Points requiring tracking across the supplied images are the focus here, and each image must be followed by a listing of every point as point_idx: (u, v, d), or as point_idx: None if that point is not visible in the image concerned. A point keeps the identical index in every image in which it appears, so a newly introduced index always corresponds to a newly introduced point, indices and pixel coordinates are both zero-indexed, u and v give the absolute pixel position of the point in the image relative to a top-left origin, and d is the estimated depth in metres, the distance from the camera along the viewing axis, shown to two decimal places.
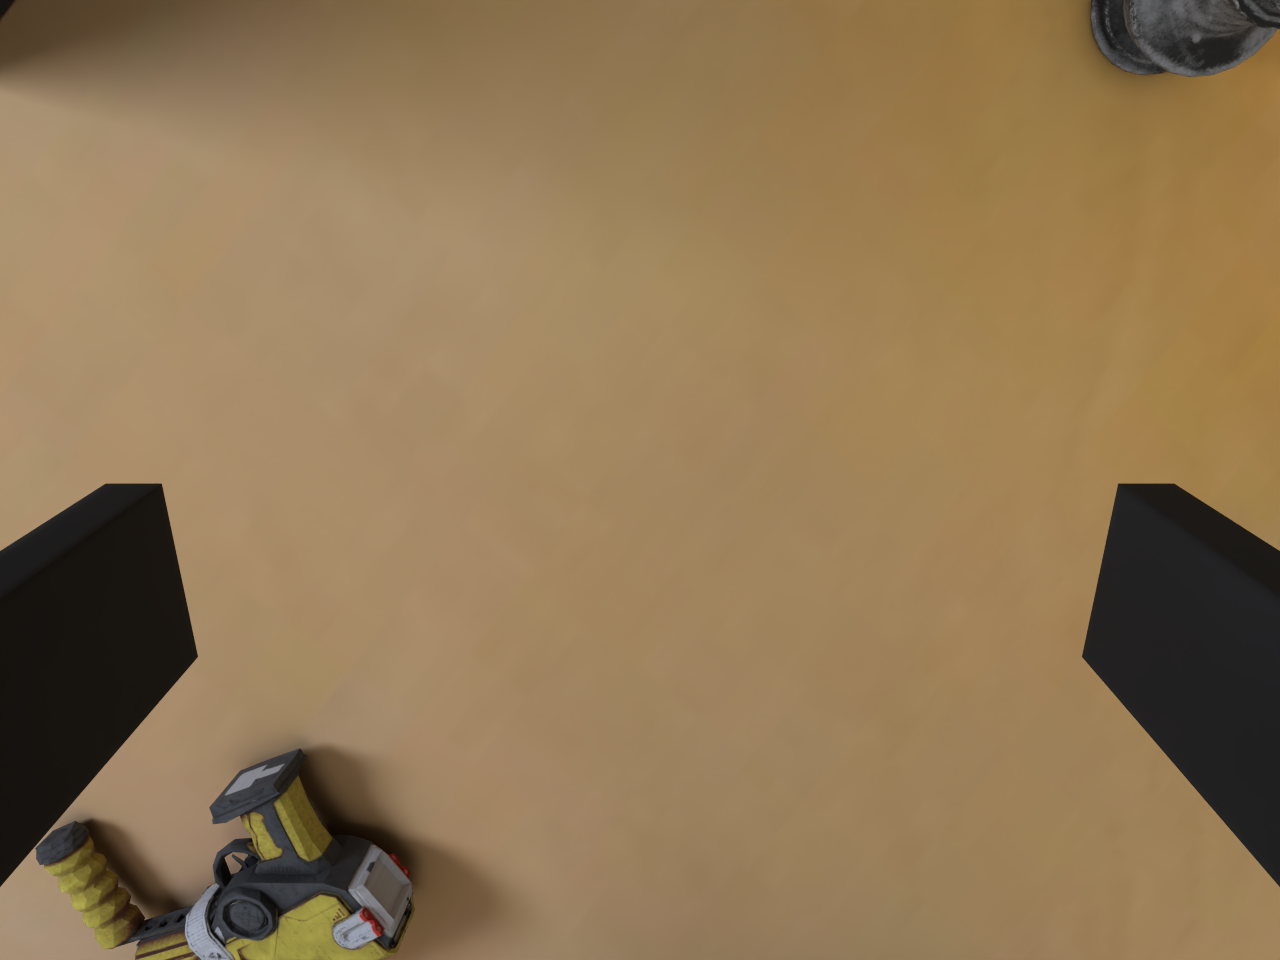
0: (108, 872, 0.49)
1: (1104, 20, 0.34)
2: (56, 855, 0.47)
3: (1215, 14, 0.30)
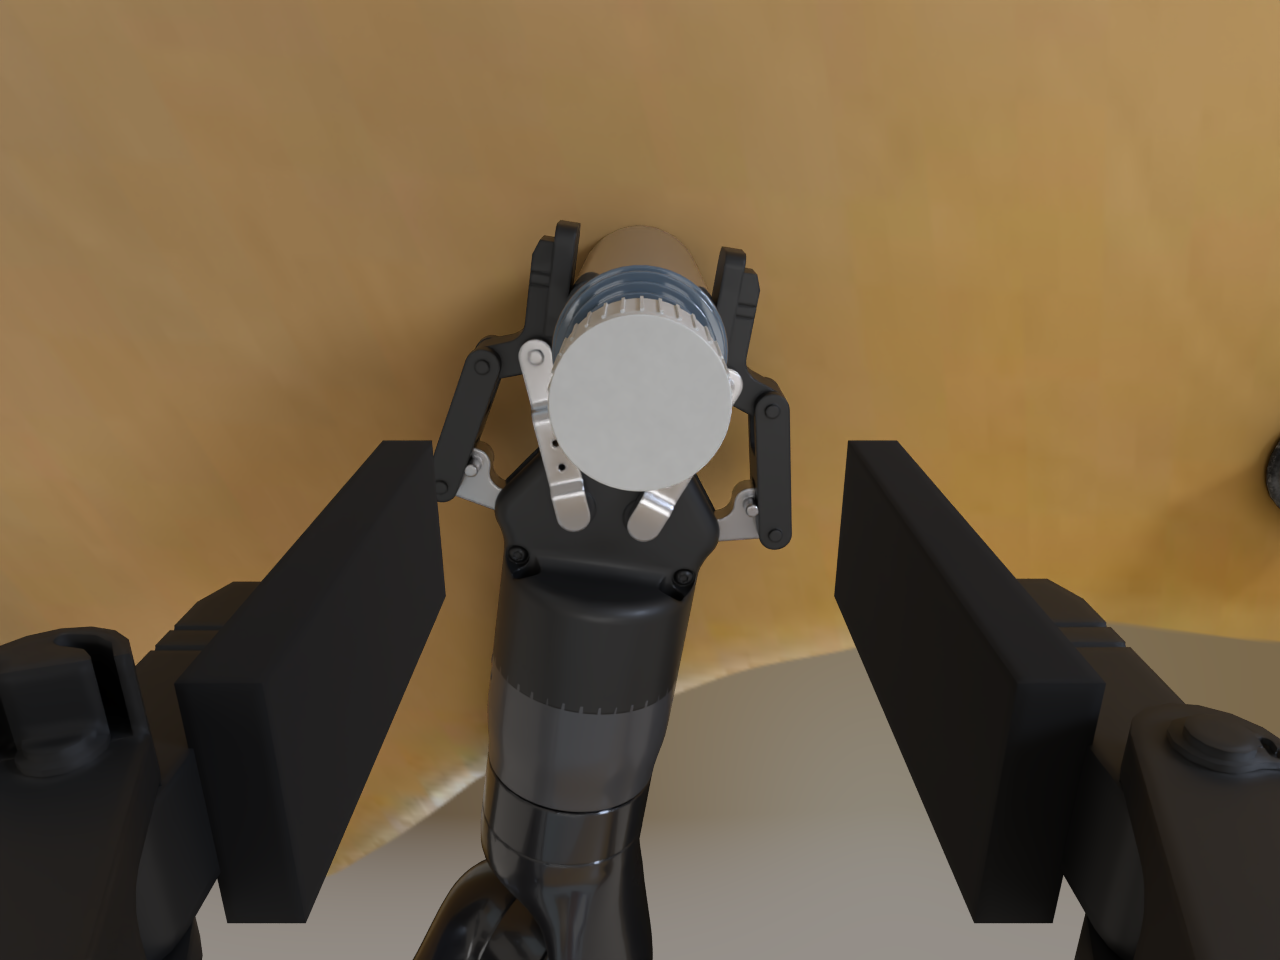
0: None
1: None
2: None
3: None
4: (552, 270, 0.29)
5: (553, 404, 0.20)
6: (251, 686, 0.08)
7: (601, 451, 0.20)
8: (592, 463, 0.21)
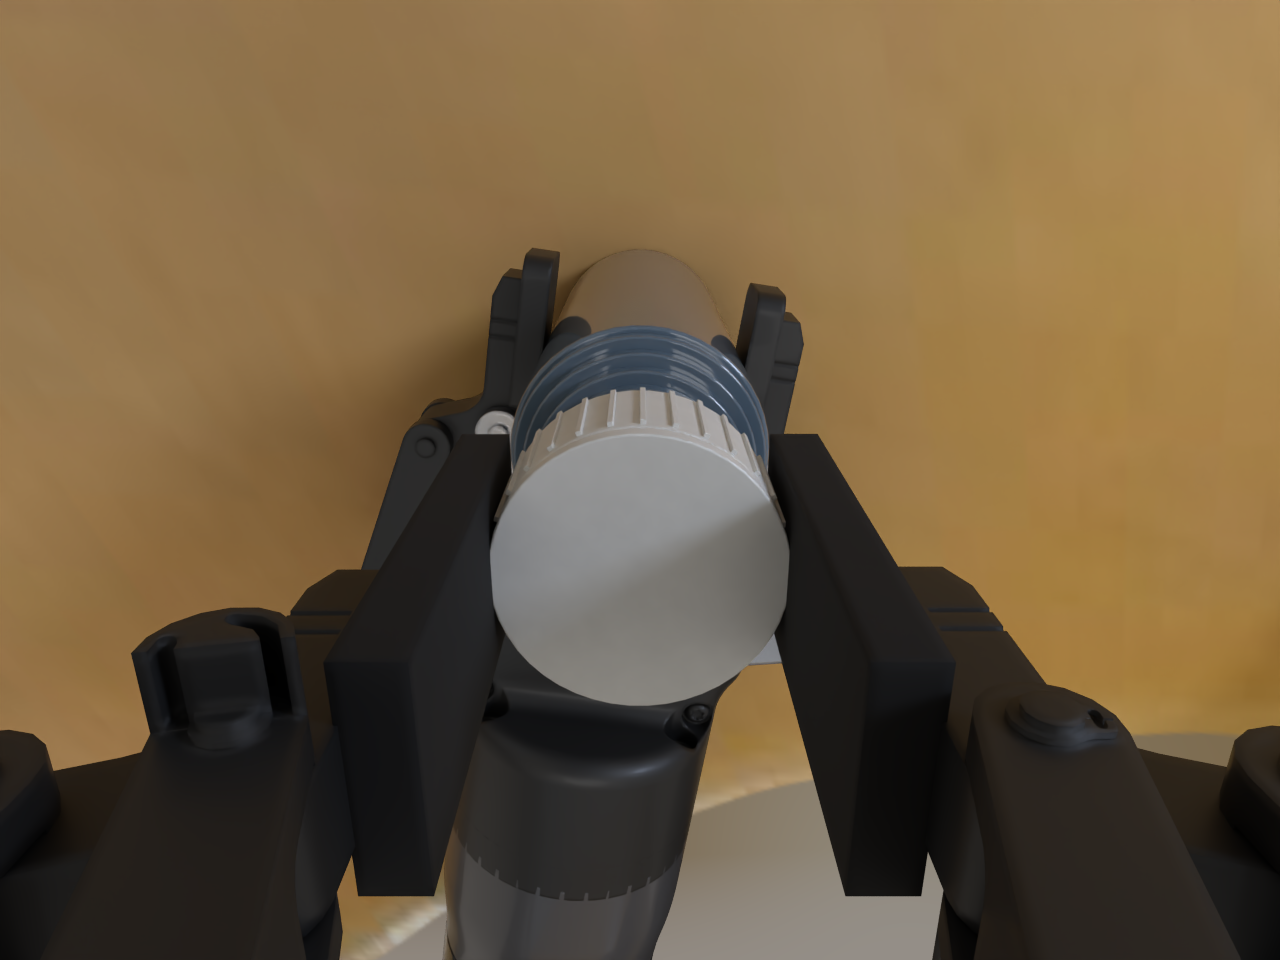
0: None
1: None
2: None
3: None
4: (519, 318, 0.21)
5: (496, 575, 0.12)
6: (396, 666, 0.08)
7: (576, 646, 0.13)
8: (562, 664, 0.13)
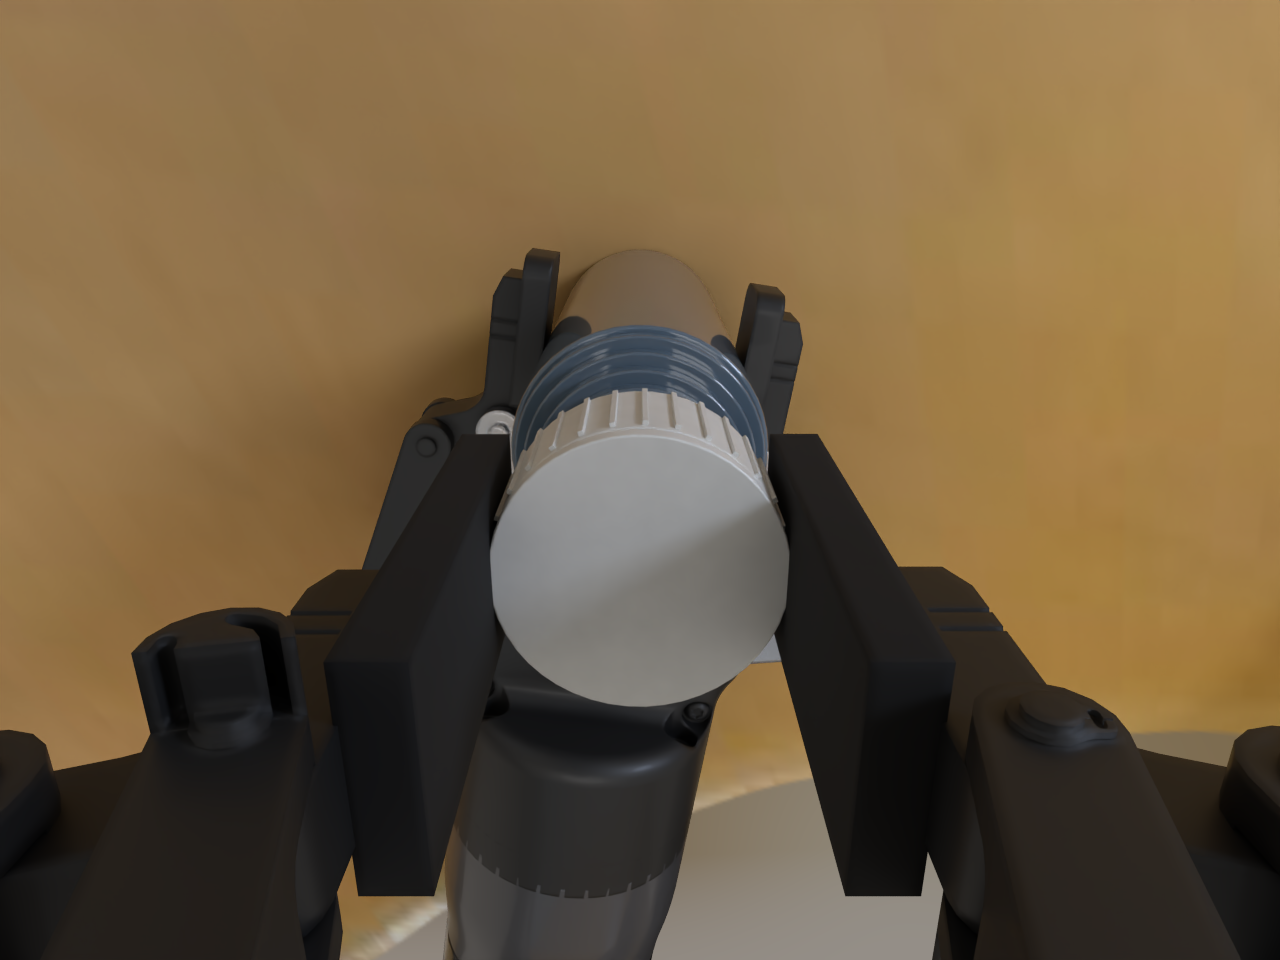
0: None
1: None
2: None
3: None
4: (520, 318, 0.21)
5: (702, 687, 0.13)
6: (396, 665, 0.08)
7: (739, 596, 0.12)
8: (765, 598, 0.12)
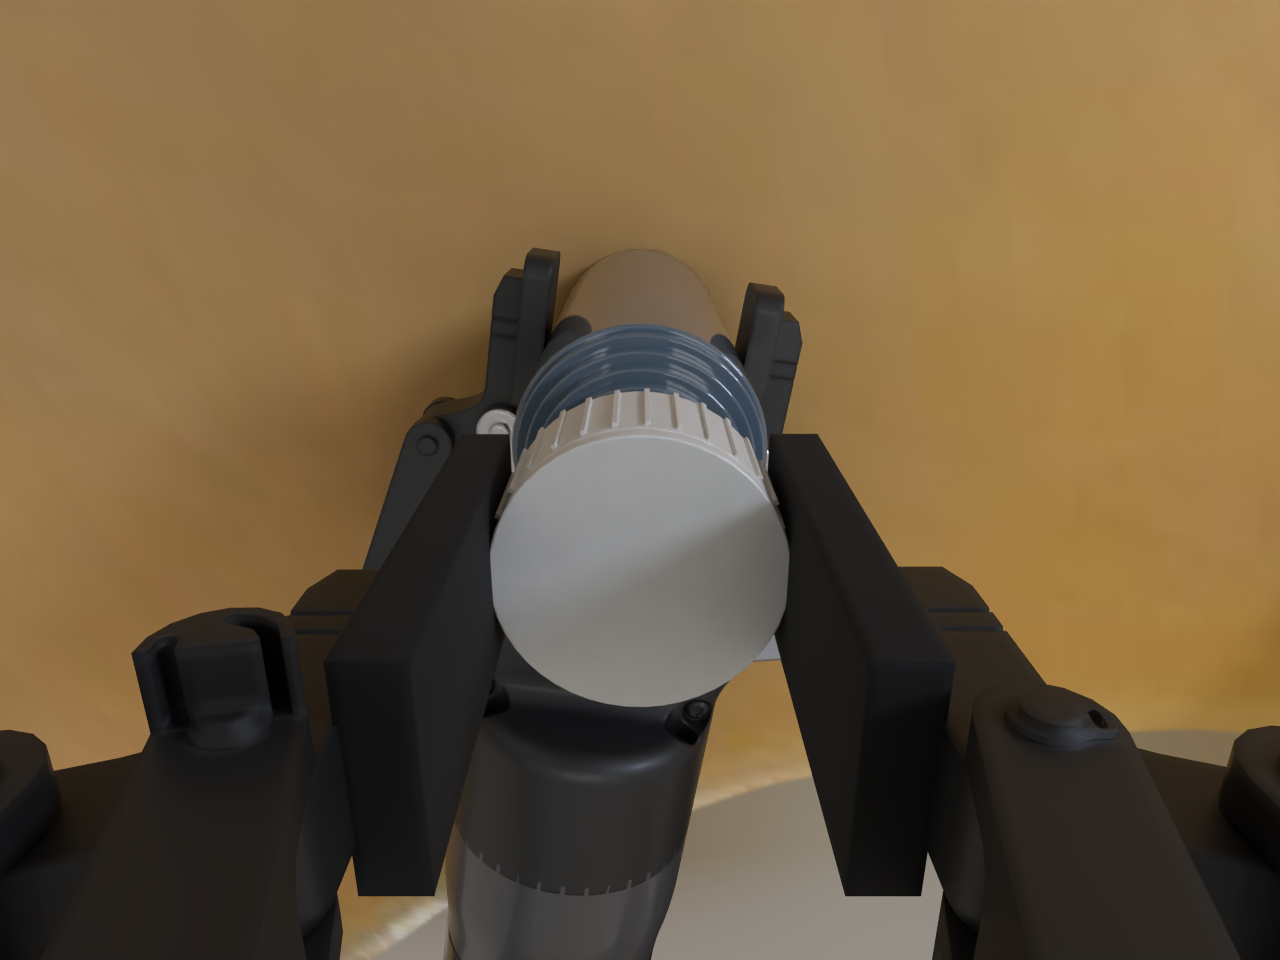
0: None
1: None
2: None
3: None
4: (520, 317, 0.21)
5: (722, 468, 0.12)
6: (396, 665, 0.08)
7: (605, 490, 0.12)
8: (594, 466, 0.12)
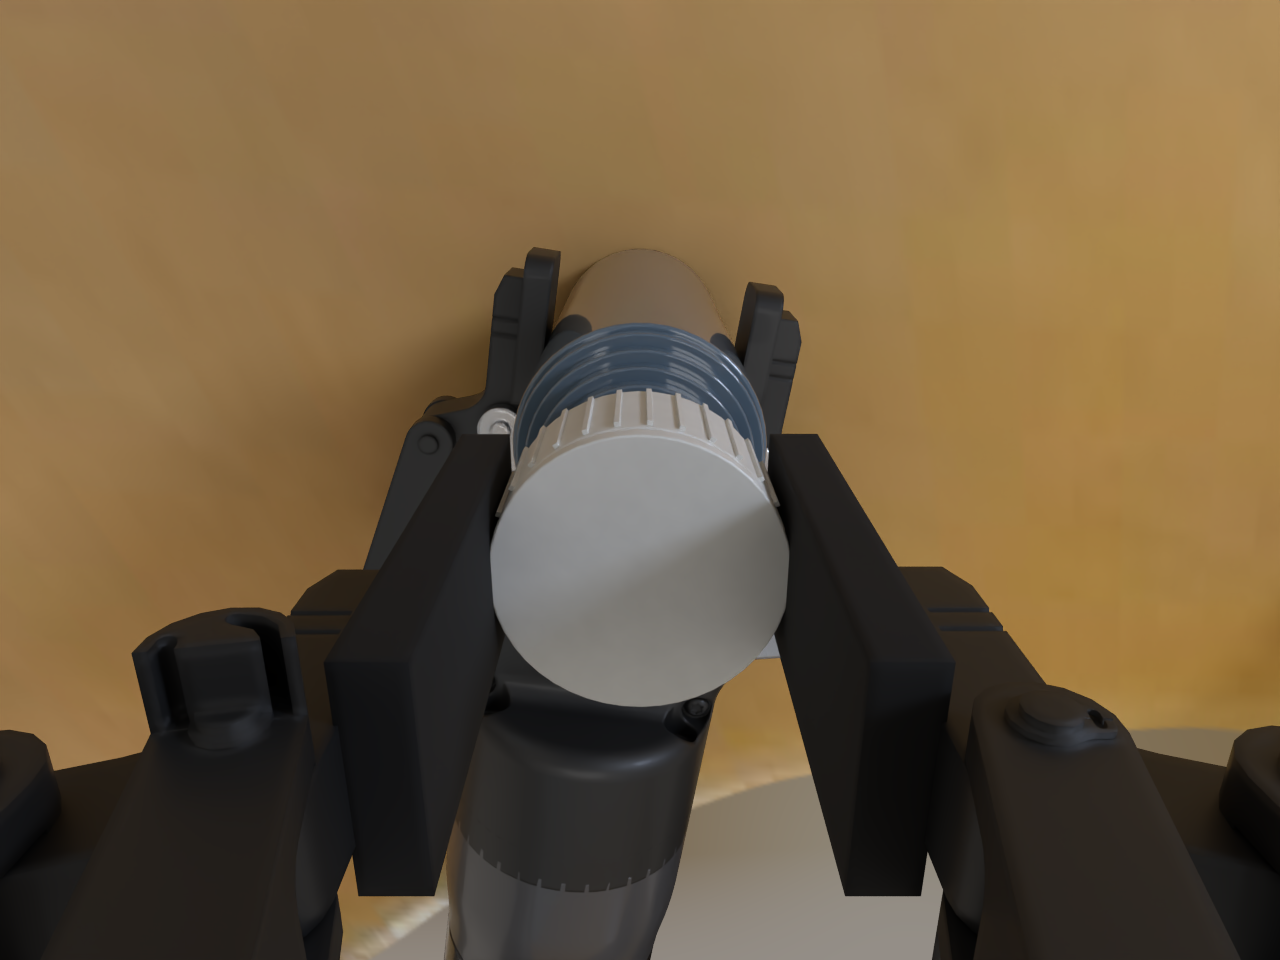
0: None
1: None
2: None
3: None
4: (521, 316, 0.21)
5: (496, 571, 0.12)
6: (396, 666, 0.08)
7: (573, 645, 0.12)
8: (558, 662, 0.13)
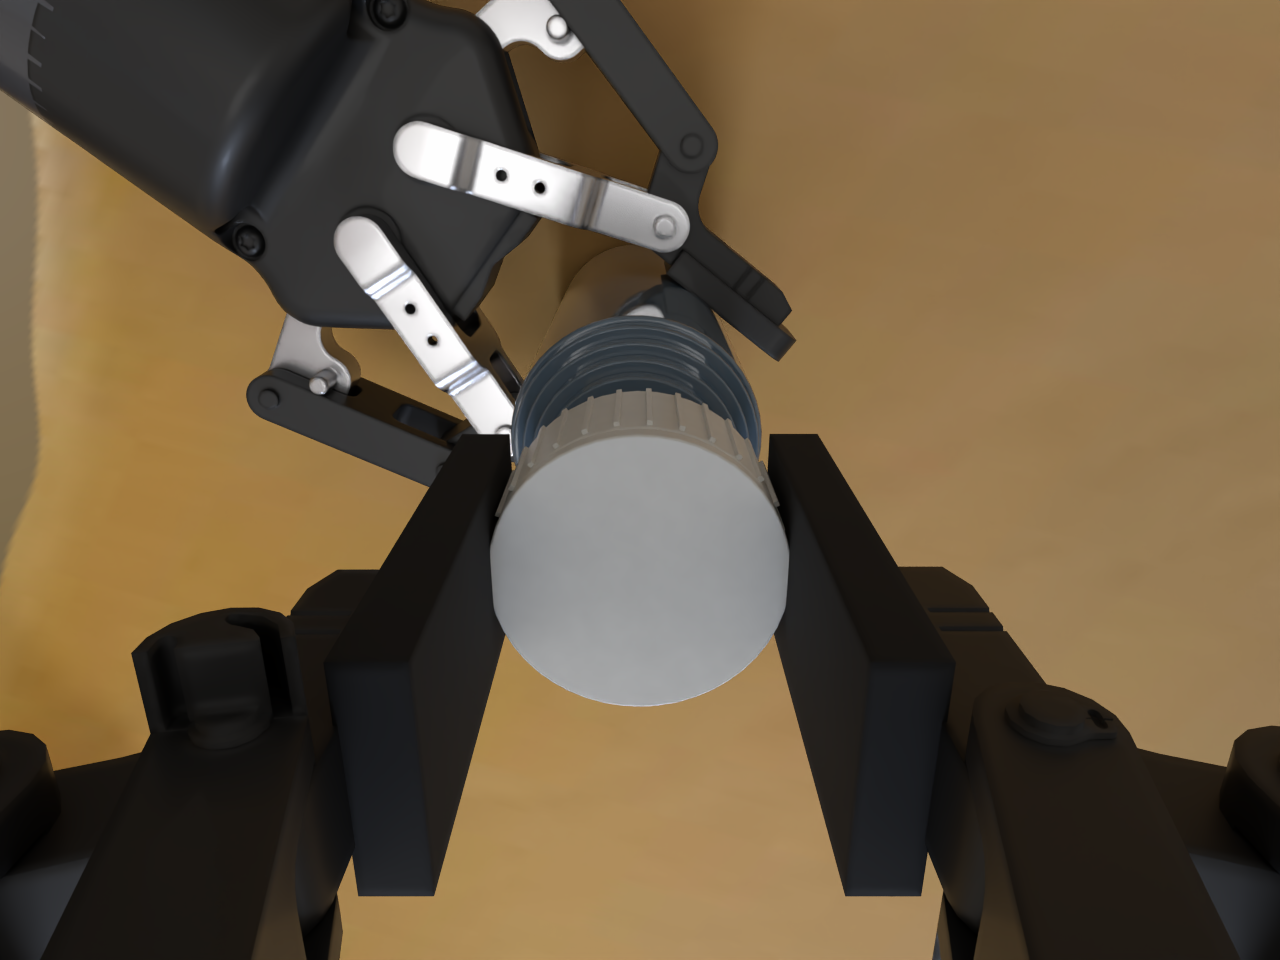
0: None
1: None
2: None
3: None
4: (753, 309, 0.22)
5: (496, 571, 0.12)
6: (396, 666, 0.08)
7: (573, 645, 0.12)
8: (557, 662, 0.13)
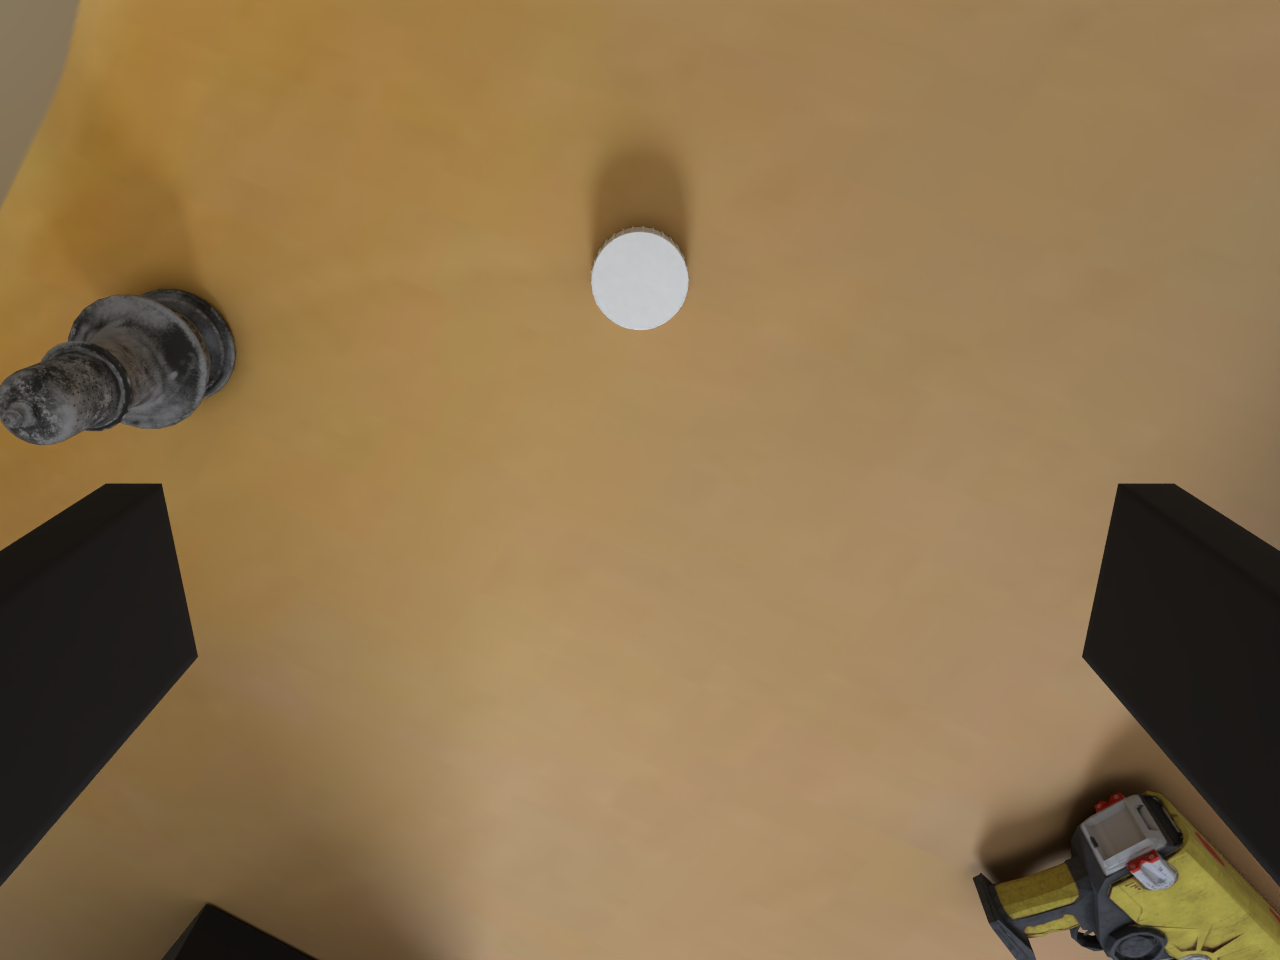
0: None
1: (205, 389, 0.41)
2: None
3: (147, 391, 0.36)
4: None
5: (594, 278, 0.38)
6: None
7: (618, 306, 0.38)
8: (613, 312, 0.38)
